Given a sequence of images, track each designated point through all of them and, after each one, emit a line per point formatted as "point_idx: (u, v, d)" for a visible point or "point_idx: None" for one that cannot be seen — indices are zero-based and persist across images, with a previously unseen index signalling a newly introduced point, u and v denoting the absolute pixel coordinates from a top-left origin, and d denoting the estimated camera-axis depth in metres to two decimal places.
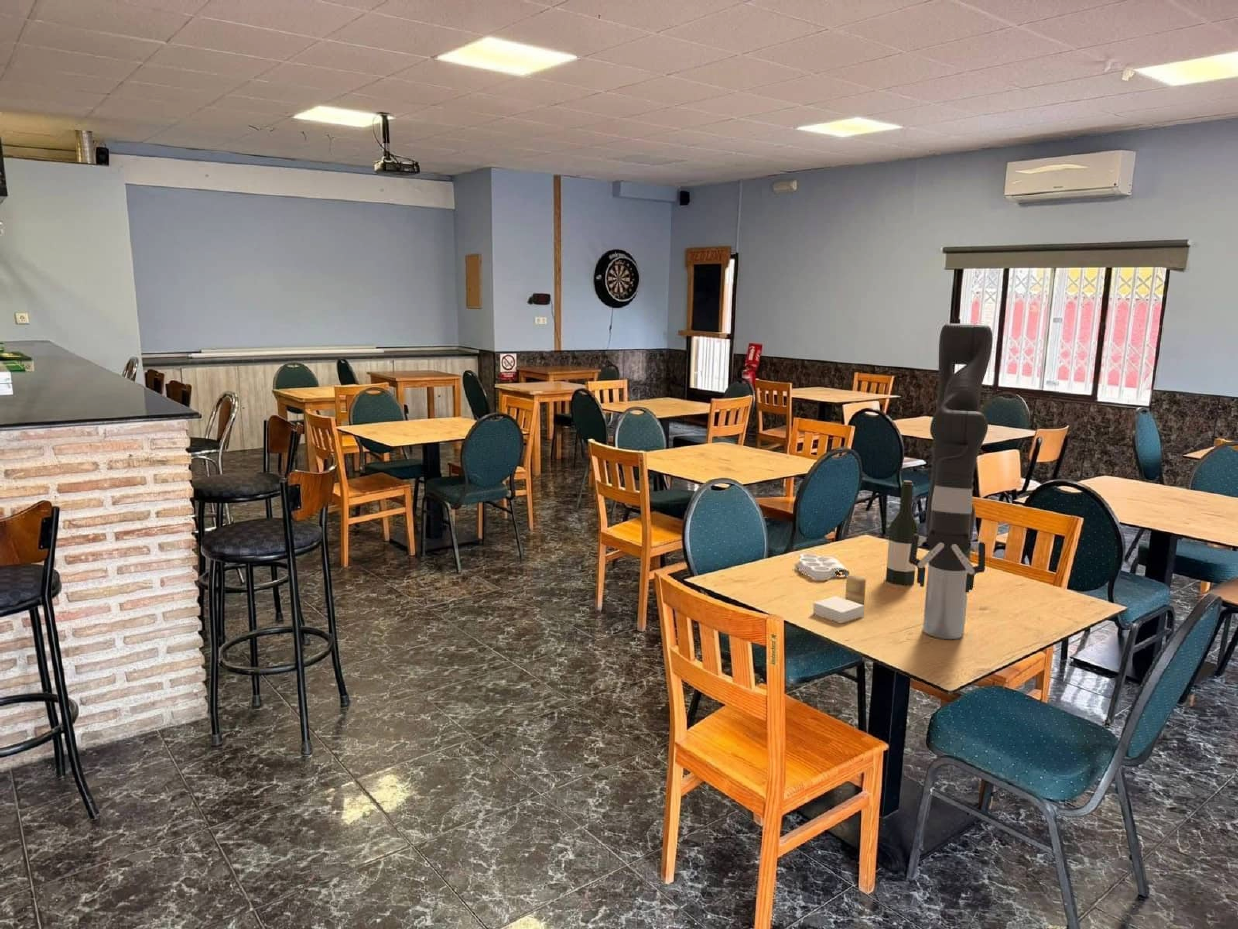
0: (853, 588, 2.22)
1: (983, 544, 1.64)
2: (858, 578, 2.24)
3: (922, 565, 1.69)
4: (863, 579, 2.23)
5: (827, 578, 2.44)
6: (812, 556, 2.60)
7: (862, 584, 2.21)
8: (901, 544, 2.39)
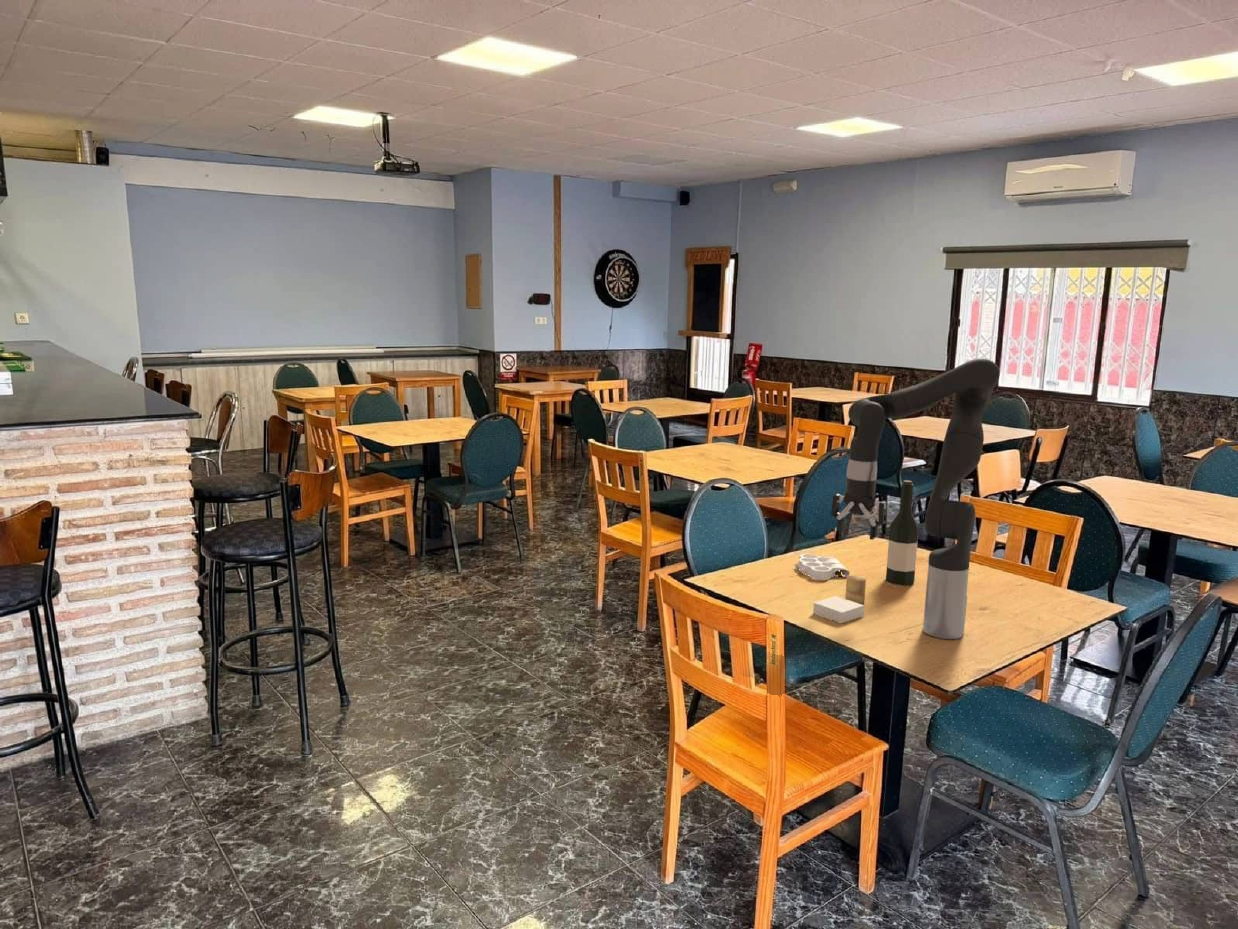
0: (853, 588, 2.22)
1: (882, 504, 2.14)
2: (858, 578, 2.24)
3: (840, 517, 2.22)
4: (863, 579, 2.23)
5: (827, 578, 2.44)
6: (812, 556, 2.60)
7: (862, 584, 2.21)
8: (901, 544, 2.39)
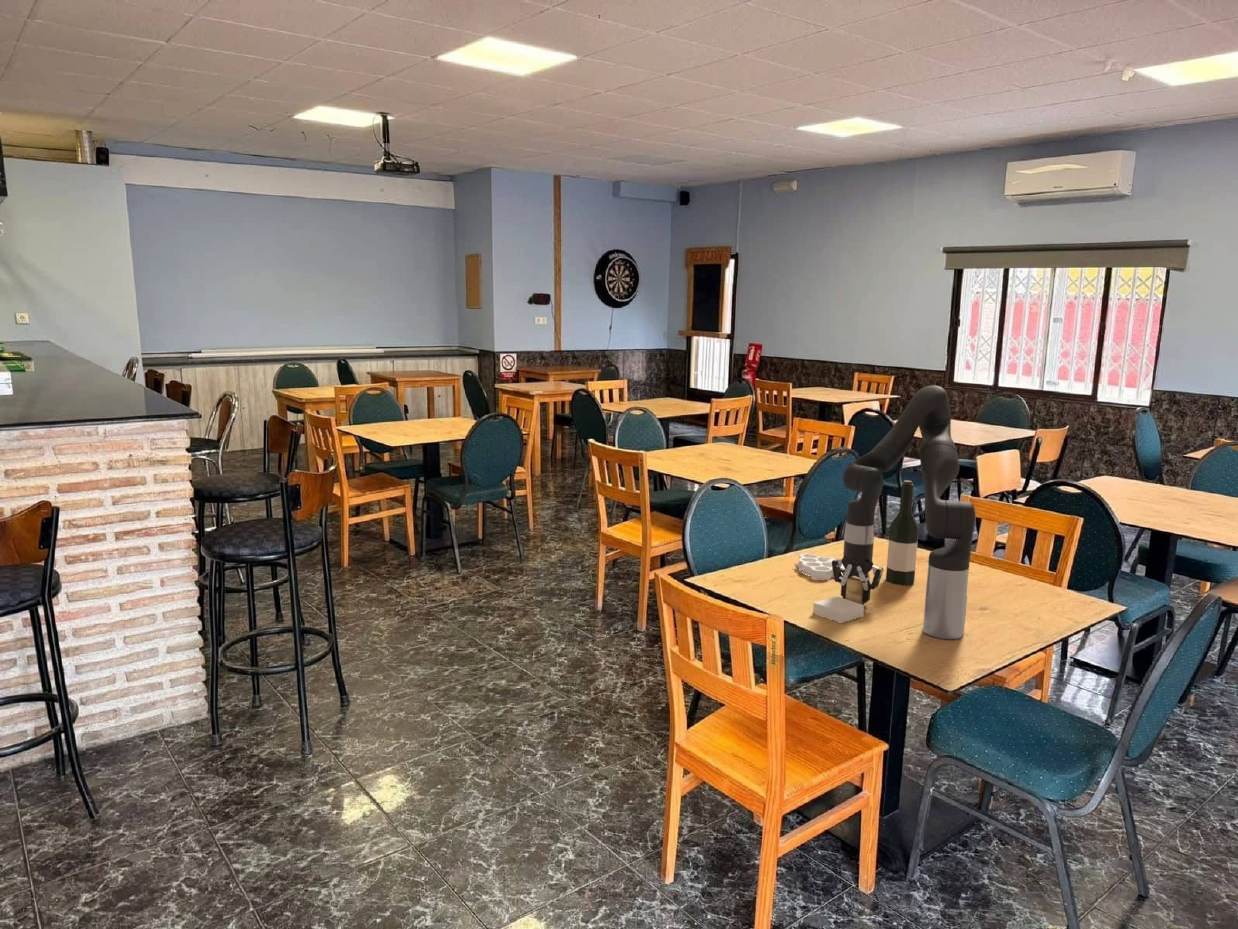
0: (853, 588, 2.22)
1: (879, 571, 2.18)
2: (858, 578, 2.24)
3: (843, 583, 2.25)
4: None
5: (827, 578, 2.44)
6: (812, 556, 2.60)
7: (862, 584, 2.21)
8: (901, 544, 2.39)
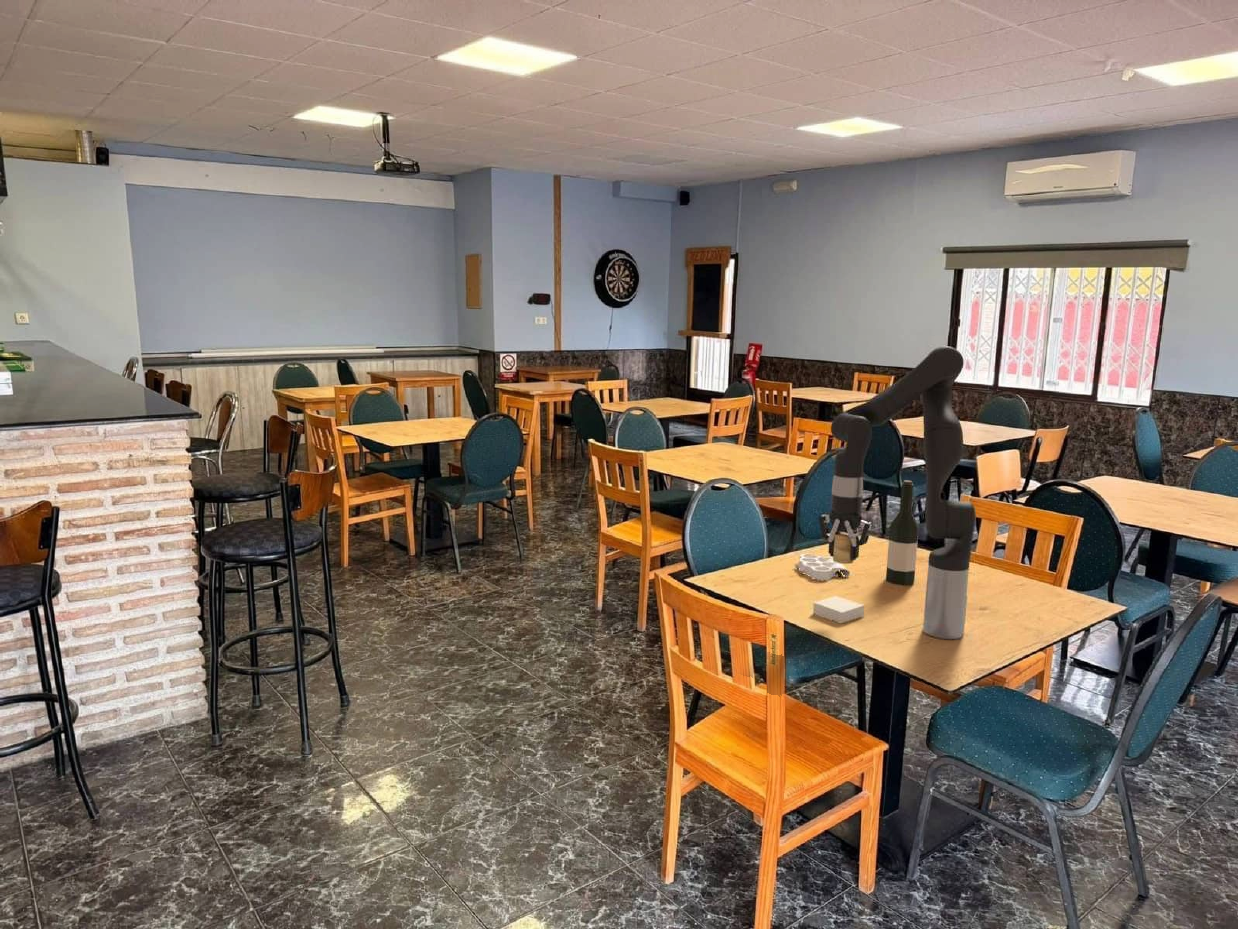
0: (841, 544, 2.11)
1: (867, 525, 2.07)
2: (847, 534, 2.13)
3: (831, 540, 2.14)
4: None
5: (827, 578, 2.44)
6: (812, 556, 2.60)
7: (850, 540, 2.11)
8: (901, 544, 2.39)
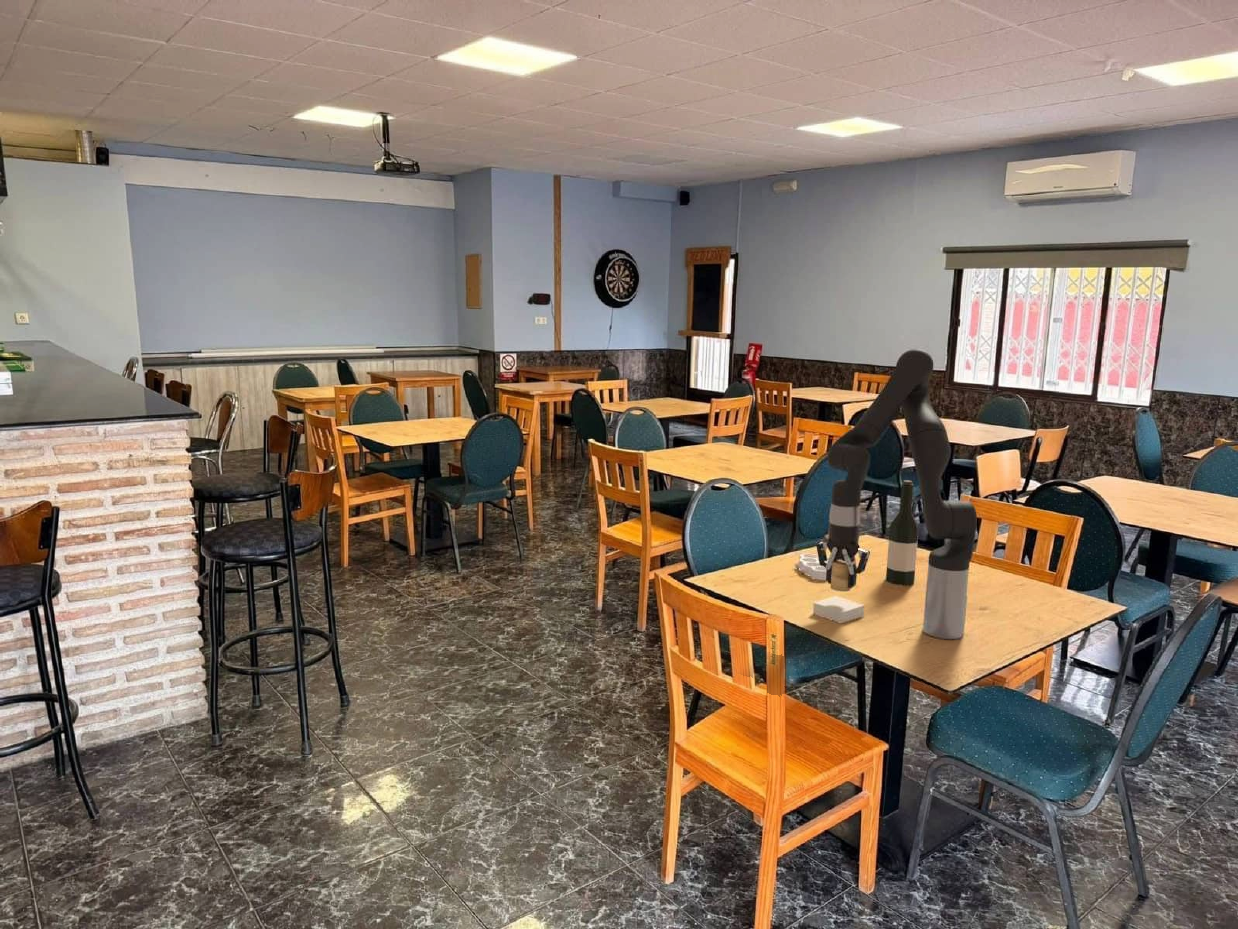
0: (838, 572, 2.12)
1: (865, 554, 2.08)
2: (844, 562, 2.14)
3: (828, 567, 2.15)
4: None
5: None
6: (812, 556, 2.60)
7: (847, 568, 2.12)
8: (901, 544, 2.39)
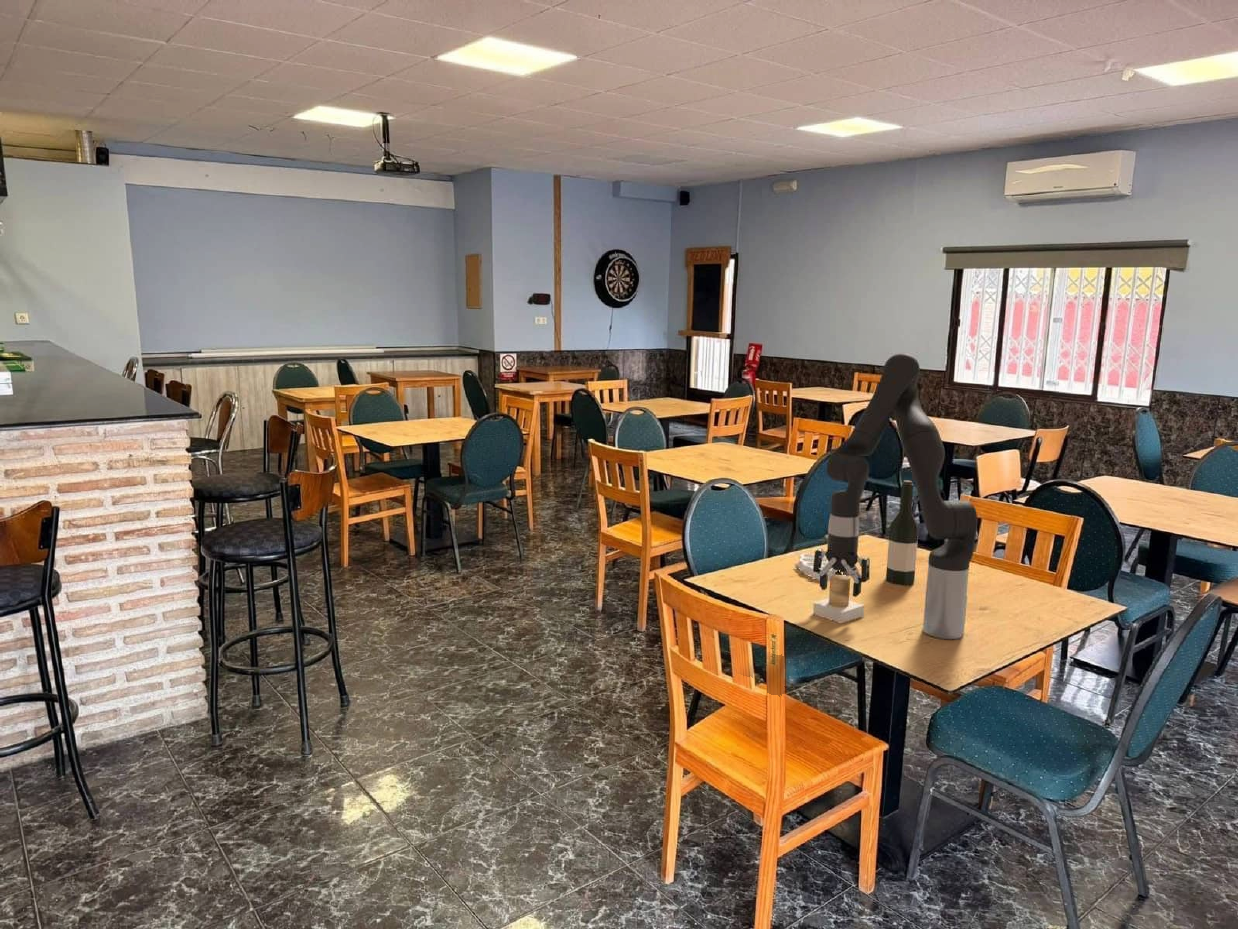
0: (837, 588, 2.12)
1: (864, 560, 2.08)
2: (842, 578, 2.14)
3: (822, 573, 2.16)
4: (847, 578, 2.14)
5: (828, 578, 2.44)
6: (812, 556, 2.60)
7: (846, 584, 2.12)
8: (901, 544, 2.39)
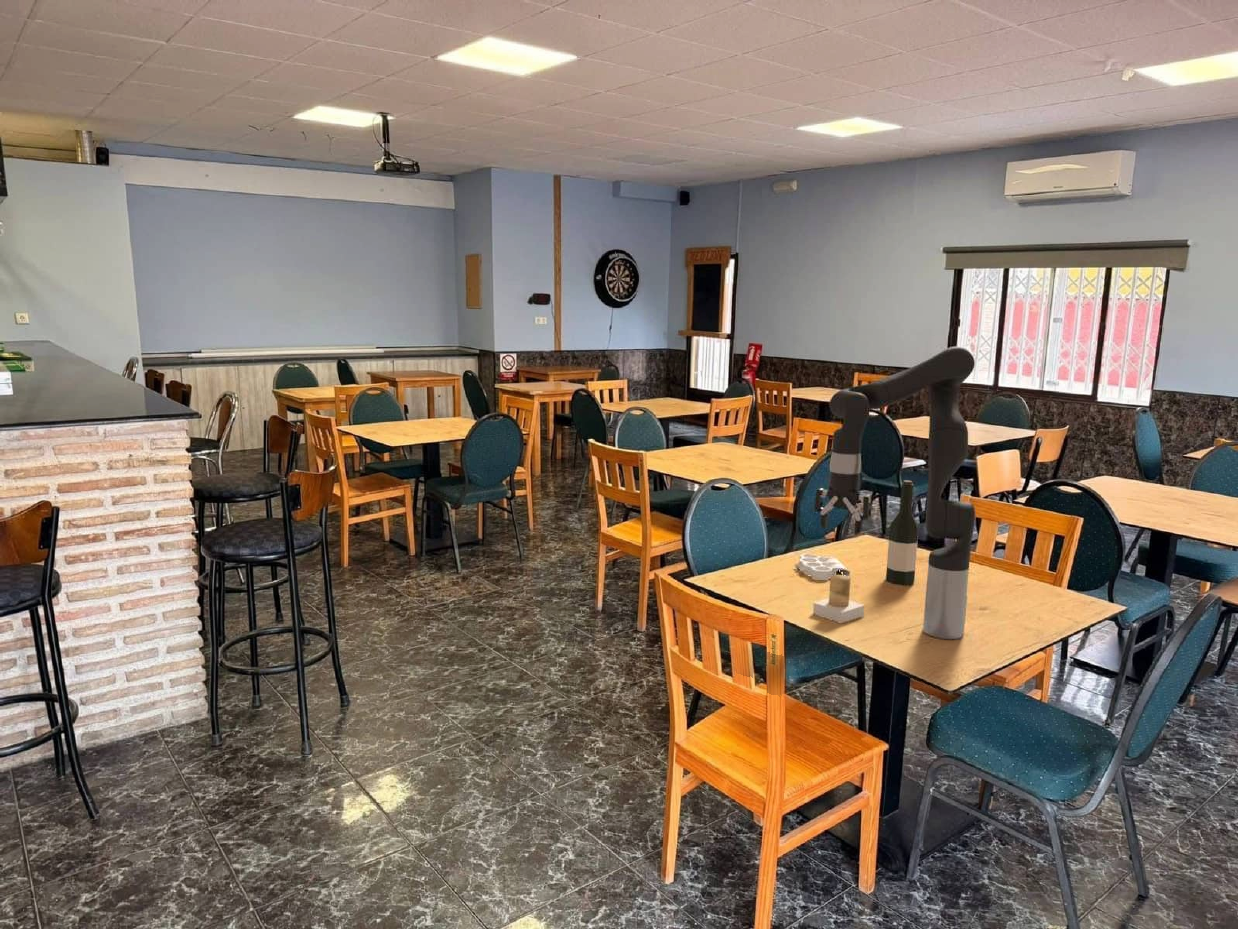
0: (837, 588, 2.12)
1: (866, 498, 2.07)
2: (843, 577, 2.14)
3: (823, 513, 2.15)
4: (847, 578, 2.14)
5: (828, 578, 2.44)
6: (812, 556, 2.60)
7: (846, 584, 2.12)
8: (901, 544, 2.39)
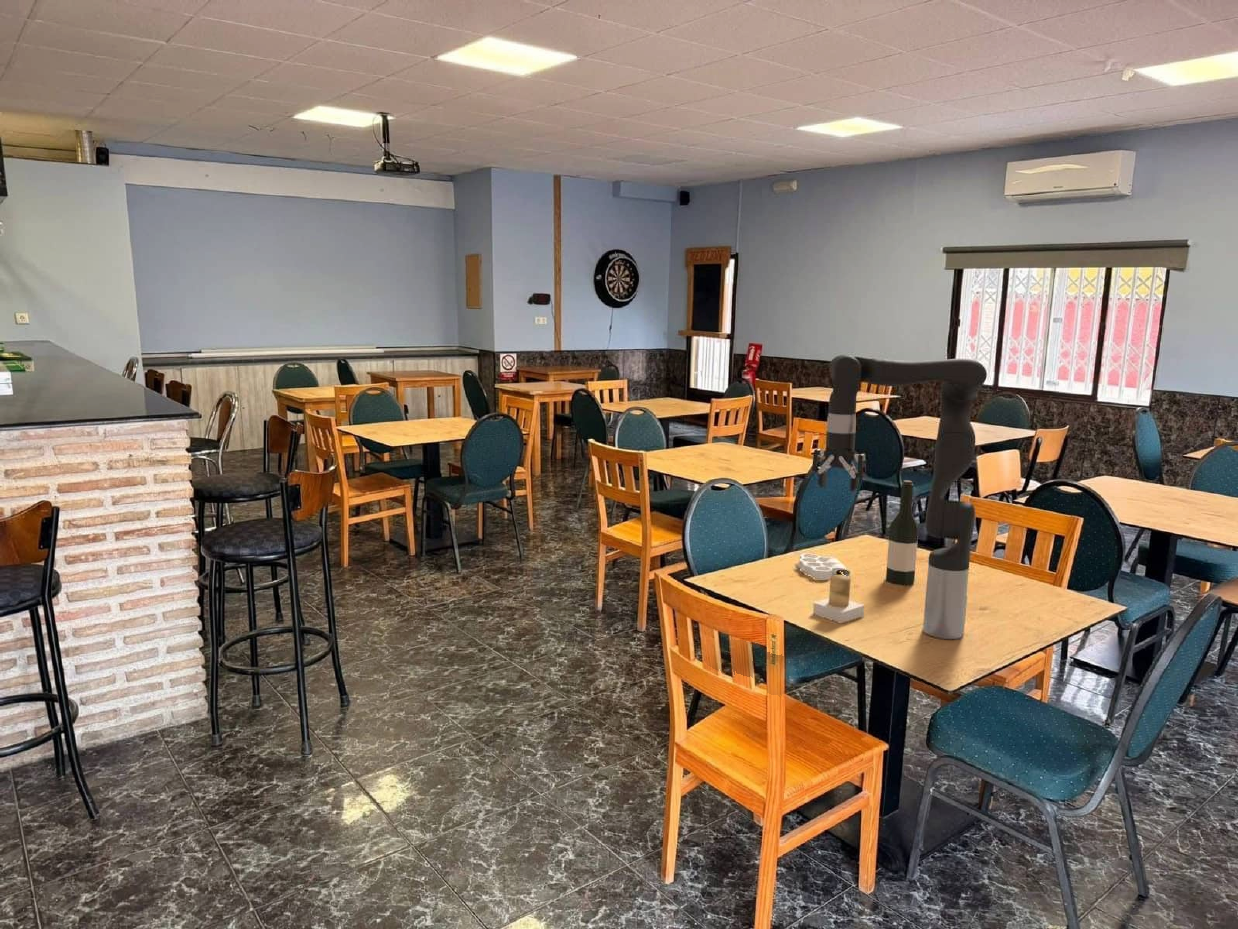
0: (837, 588, 2.12)
1: (861, 456, 2.19)
2: (843, 578, 2.14)
3: (821, 472, 2.27)
4: (847, 578, 2.14)
5: (828, 578, 2.44)
6: (812, 556, 2.60)
7: (846, 584, 2.12)
8: (901, 544, 2.39)
